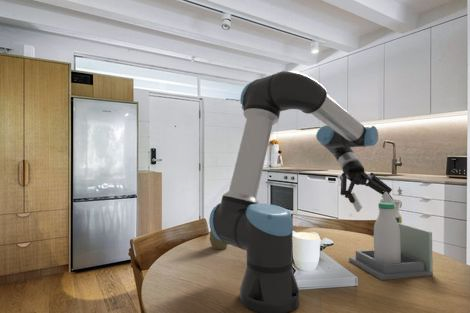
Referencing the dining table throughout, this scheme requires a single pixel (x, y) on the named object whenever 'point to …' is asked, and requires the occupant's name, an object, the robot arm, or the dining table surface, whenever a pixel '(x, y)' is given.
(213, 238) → the squeeze bottle
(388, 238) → the milk bottle
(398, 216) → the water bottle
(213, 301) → the dining table surface
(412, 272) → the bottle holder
